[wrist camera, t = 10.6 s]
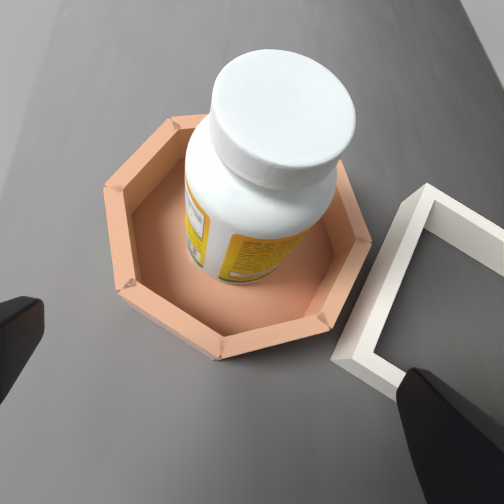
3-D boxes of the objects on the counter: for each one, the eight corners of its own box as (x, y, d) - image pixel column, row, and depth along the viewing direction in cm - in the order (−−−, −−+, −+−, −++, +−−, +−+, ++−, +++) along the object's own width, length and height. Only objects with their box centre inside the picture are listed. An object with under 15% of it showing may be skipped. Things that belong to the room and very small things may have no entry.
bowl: (274, 399, 16) (295, 407, 13) (73, 270, 16) (44, 245, 13) (363, 220, 21) (396, 192, 17) (205, 122, 21) (207, 77, 18)
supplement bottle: (164, 249, 17) (136, 107, 8) (222, 178, 19) (252, 2, 10) (253, 307, 16) (328, 230, 7) (301, 229, 18) (405, 95, 10)
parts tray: (520, 481, 17) (572, 498, 14) (329, 359, 17) (351, 358, 15) (553, 296, 21) (598, 287, 19) (401, 202, 22) (426, 182, 19)
